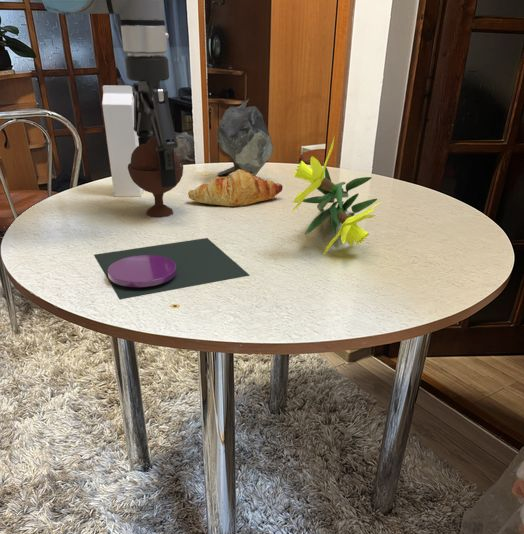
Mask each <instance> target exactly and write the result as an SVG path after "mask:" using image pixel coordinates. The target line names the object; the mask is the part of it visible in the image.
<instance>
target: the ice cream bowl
mask: <svg viewBox="0 0 524 534" xmlns="http://www.w3.org/2000/svg"><path fill="white" fill-rule="evenodd" d="M150 137H151V138H149V140H148V141H147V144H141V145H139V146H138V147H136V148H135V150H134V151H133V153H132V154H131V163H130V164H128V171H129V174H130V177H131V178H132V180H133V182H134V183H135V184H136V185H138V186H139V187H140V188H141V189H143V191H145V192H147V193H150V194H152V195H153V197H154V204H153V205H152V206H151V207H149V208H148V209H146V215H147V216H149V217H151V218H164V217H165V218H167V217H170V216H172V215H174V211H173V208H171V207H170V206H168V205H166V204H164V195H165V193H167V192H170V191H172V190H173V189H174V188H175V187H176V186H177V185H178V184H179V183H180V182H181V180H182V177H183V174H184V163H183V162H181V161H180V158H179V156H178V155H177V154H176V153H175V149H174V150H173V151H174V163H175V176H176V186H172V187H163V188H162V187H161V179H160V168H159V157H158V151H156V147H157V146H159V145H158V141H157V138H156V135H153V136H150Z"/></svg>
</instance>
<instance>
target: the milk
mask: <svg viewBox="0 0 524 534" xmlns="http://www.w3.org/2000/svg"><path fill="white" fill-rule="evenodd" d="M101 105H102V113H103V114H102V115H103V120H104V129H105V136H106V144H107V151H108V159H109V167H110V175H111V181H112V190H113V196H114V197H115V198H117V197H119V198H120V197H121V198H122V197H124V198H125V197H128V198H129V197H139V198H140V197H142V195H143V193H144V190H143V189H141V188H140V187H139V186H138V185H136V184H135V183H134V182H133V180H132V178H131V177H130V174H129V171H128V164H130V163H131V154H132V153H133V151H134V150H135V148H136V147H138V146H139V142H138V138H139V137H138V136H137V132H135V130H134V92H133V86H132V85H112V84H111V85H109V84H108V85H105V84H104V85H102V101H101Z"/></svg>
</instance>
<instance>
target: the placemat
mask: <svg viewBox="0 0 524 534" xmlns="http://www.w3.org/2000/svg"><path fill="white" fill-rule="evenodd" d="M140 255H153V256H161V257H165V258H168V259H170V260H172V261H173V262H174V263H175V264H176V270H177V272H176V275H175V276H174V277H173V278H172V279H171V280H169V281H167V282H165V283H162V284H159V285H155V286H149V287H126V286H121V285H118V284H116V283H114V282H112V281H111V280H110V279H109V277H108V268H109V266H110V265H111V264H113V263H114V262H116V261H118V260H121V259H124V258H127V257H132V256H140ZM93 256H94V258H95V260H96V262H97V263H98V265H99V267H100V269H101V270H102V272H103V274H104V276H105V277H106V279H107V280H108V282H109V284H110V286H111V287H112V289H113V291H114V293H115V294H116V296H117V298H118V300H126V299H131V298H136V297H142V296H147V295H153V294H159V293H163V292H164V293H165V292H168V291H174V290H180V289H186V288H192V287H195V286H202V285H207V284H212V283H217V282H223V281H228V280H235V279H240V278H245V277H250V276H251V275H250V274H249V273H248V272H247V271H246V270H245V269H243V268H242V267H241V266H240V265H239V264H238V263H237V262H236V261H235V260H233V259H232V258H231V257H230V256H229V255H228V254H226V252H224V251H223V250H222V249H221V248H220V247H218V246H217V245H216V244H215V243H214V242H213V241H212V240H210V239H209V238H208V237H203V238H198V239H191V240H183V241H176V242H170V243H164V244H163V243H162V244H157V245H150V246H149V245H148V246H144V247H137V248H130V249H129V248H128V249H122V250H116V251H109V252H102V253H96V254H93Z"/></svg>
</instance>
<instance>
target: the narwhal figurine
mask: <svg viewBox="0 0 524 534" xmlns="http://www.w3.org/2000/svg"><path fill="white" fill-rule="evenodd" d="M249 100H250V98H248V99H246V100H245V101H244V102H242V103H241V104H240V105H239V106H234V105H233V106H232V105H231V106H229V108H226V109H225V111H224V113H223V115H222V118H221V120H220V123H219V125H218V127H217V129H216V131H217V142H218V144H219V147H220V149H221V150H222V151H223V152H224V153H226V154H227V155H228V156H230V158H231V160H232V164H233V166H231V167H228V168H226V169H224V170H222V171H219V172H217V175H216V176H217V177H227V176H228V175H229V174H230V173H232V172H235V171H236V170H238V169H240V170H245V171H248V172H250V173H251V174H252V175H253V176H258V173H259V172H260V170H262V168H263V167H264V166H265V164H266V163H267V162H268V161H269V160H270V158H271V156H272V155H273V153H274V150H275V149H274V146H273V142H272V137H271V136H270V133H269V130H268V127H267V125H266V124H265V121H264V116H263V114H262V112H261V111H260V110H259V107H257V106H256V105H255V106H254V105H253V106H247V105H248V103H249Z"/></svg>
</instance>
